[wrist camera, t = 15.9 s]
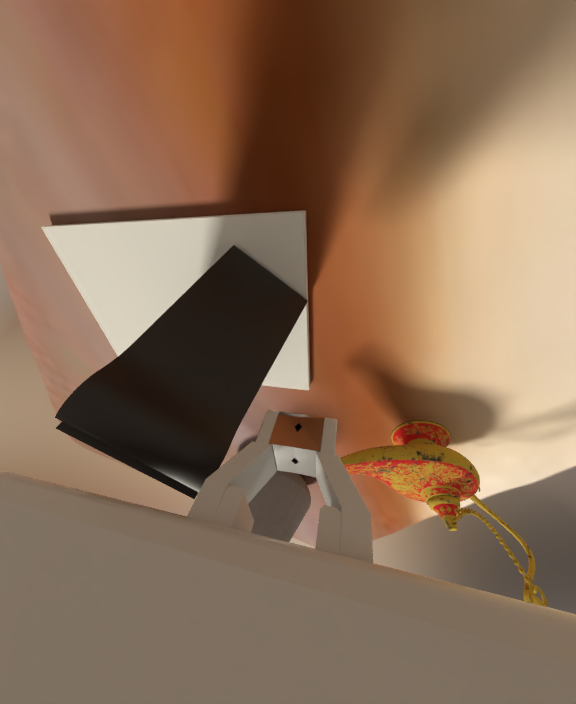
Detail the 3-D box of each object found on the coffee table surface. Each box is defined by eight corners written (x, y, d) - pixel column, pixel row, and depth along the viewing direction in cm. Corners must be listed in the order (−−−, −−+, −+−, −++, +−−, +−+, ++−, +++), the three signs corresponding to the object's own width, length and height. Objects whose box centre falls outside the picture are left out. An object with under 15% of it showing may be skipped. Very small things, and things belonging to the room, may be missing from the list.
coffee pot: (328, 469, 30) (311, 659, 18) (295, 500, 37) (267, 650, 26) (170, 401, 29) (44, 553, 18) (166, 445, 36) (75, 575, 25)
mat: (305, 210, 14) (303, 211, 14) (310, 384, 22) (308, 390, 22) (51, 225, 19) (41, 227, 18) (131, 365, 27) (126, 370, 26)
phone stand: (236, 243, 16) (50, 348, 6) (309, 299, 17) (248, 461, 7) (192, 332, 21) (56, 462, 11) (249, 370, 22) (169, 517, 13)
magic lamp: (331, 373, 21) (313, 511, 12) (522, 448, 21) (636, 637, 13) (305, 418, 25) (278, 543, 17) (464, 480, 25) (520, 637, 17)
